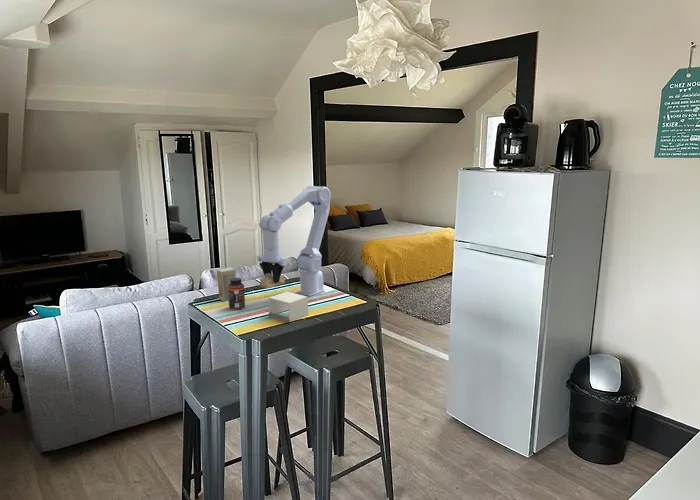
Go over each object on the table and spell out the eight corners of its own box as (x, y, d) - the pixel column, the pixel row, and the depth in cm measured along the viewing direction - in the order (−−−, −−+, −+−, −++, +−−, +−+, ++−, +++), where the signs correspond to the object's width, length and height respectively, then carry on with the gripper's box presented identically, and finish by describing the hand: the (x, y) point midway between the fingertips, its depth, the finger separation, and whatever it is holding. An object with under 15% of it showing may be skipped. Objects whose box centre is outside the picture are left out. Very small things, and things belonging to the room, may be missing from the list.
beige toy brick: (277, 281, 191) (277, 269, 190) (284, 283, 189) (284, 271, 188) (260, 286, 185) (259, 274, 184) (267, 288, 182) (266, 276, 181)
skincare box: (233, 296, 196) (231, 267, 194) (238, 298, 193) (236, 269, 190) (218, 299, 192) (216, 269, 190) (222, 301, 189) (220, 271, 187)
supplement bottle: (241, 311, 178) (239, 281, 176) (226, 310, 179) (224, 280, 177) (247, 305, 184) (246, 277, 181) (233, 305, 185) (231, 276, 183)
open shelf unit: (287, 309, 179) (287, 291, 178) (308, 314, 173) (307, 296, 172) (267, 316, 172) (267, 297, 171) (288, 322, 166) (287, 303, 164)
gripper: (250, 246, 185) (252, 280, 188) (276, 250, 176) (277, 286, 179) (264, 243, 190) (266, 276, 193) (290, 247, 181) (291, 282, 184)
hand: (272, 281), depth 186 cm, fingers closed on beige toy brick, 4 cm apart
